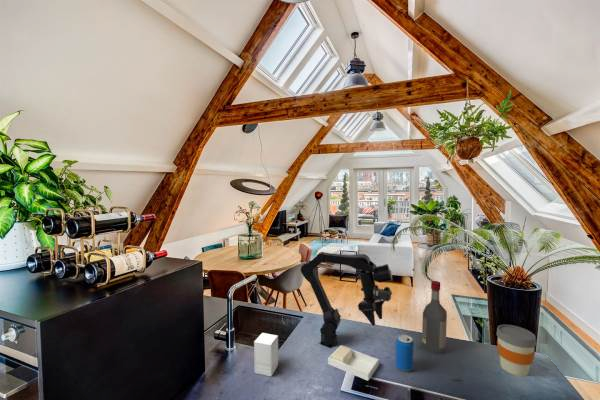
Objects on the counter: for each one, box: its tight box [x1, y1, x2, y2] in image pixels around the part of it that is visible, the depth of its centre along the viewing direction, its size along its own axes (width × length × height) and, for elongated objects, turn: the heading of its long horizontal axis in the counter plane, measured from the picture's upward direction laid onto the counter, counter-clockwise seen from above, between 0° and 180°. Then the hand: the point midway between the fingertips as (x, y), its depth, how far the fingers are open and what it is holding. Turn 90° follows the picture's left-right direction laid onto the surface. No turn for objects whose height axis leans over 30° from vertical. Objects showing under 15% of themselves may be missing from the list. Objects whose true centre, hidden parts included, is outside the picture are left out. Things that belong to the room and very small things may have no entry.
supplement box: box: [253, 332, 279, 377], centre depth 112 cm, size 7×7×13 cm
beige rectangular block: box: [331, 345, 353, 364], centre depth 117 cm, size 5×8×4 cm, turn 145°
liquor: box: [421, 280, 448, 355], centre depth 127 cm, size 9×9×30 cm
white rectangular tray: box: [327, 345, 380, 381], centre depth 114 cm, size 17×11×3 cm, turn 55°
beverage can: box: [395, 334, 414, 372], centre depth 113 cm, size 6×6×12 cm
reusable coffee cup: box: [496, 324, 537, 377], centre depth 113 cm, size 13×13×15 cm
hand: (377, 322), depth 119 cm, fingers open, 9 cm apart
